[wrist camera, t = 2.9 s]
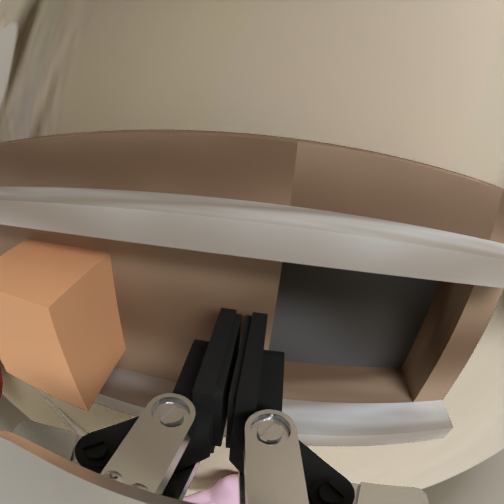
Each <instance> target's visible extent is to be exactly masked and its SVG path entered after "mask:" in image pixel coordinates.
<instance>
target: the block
mask: <svg viewBox="0 0 504 504" xmlns="http://www.w3.org/2000/svg"><path fill="white" fill-rule="evenodd" d="M125 350H126V348H125V343H124V338H123V333H122V328H121V323H120V317H119V312H118V306H117V300H116V294H115V287H114V280H113V273H112V265H111V256H110V253H109V252H103V251H96V250H90V249H84V248H78V247H71V246H65V245H59V244H53V243H47V242H41V241H35V240H29V239H26V240H25V241H23V242H21V243H20V244H18V245H17V246H15V247H13V248H12V249H10V250H9V251H7V252H5V253H4V254H2V255H1V256H0V359H1V361H2V363H3V365H4V367H5V369H6V371H7V372H8V373H9V374H11V375H13V376H15V377H17V378H18V379H20V380H22V381H24V382H26V383H28V384H30V385H31V386H33V387H35V388H37V389H39V390H41V391H43V392H45V393H48V394H50V395H52V396H54V397H56V398H58V399H60V400H63V401H65V402H67V403H69V404H72V405H74V406H77V407H79V408H81V409H84V410H86V411H89V409H90V407H91V405H92V404H93V402H94V400H95V399H96V397H97V395H98V394H99V392H100V390H101V389H102V387H103V385H104V384H105V382H106V381H107V379H108V377H109V376H110V374H111V372H112V371H113V369H114V368H115V366H116V364H117V363H118V361H119V360H120V358H121V356H122V355H123V353H124V352H125Z"/></svg>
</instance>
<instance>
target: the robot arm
mask: <svg viewBox="0 0 504 504" xmlns="http://www.w3.org/2000/svg"><path fill="white" fill-rule="evenodd" d="M267 318H268V314H265V313H257V312H253V314H252V316H250V315H246V319H245V324H244V328H243V333H242V338H241V342H240V332H241V320H242V314H237V310H235V309H228V308H221V309H220V312H219V315H218V318H217V321H216V324H215V327H214V330H213V332H212V335H211V338H210V341H203V340H197V339H195V340H194V341H193V343H192V346H191V348H190V351H189V353H188V356H187V358H186V361H185V363H184V366H183V368H182V370H181V373H180V375H179V378H178V380H177V383H176V385H175V388H174V390H173V393H165V394H161V395H158V396H156V397H155V398H153V399H152V400H151V401H150V402H149V403H148V405H147V406H146V407H145V409H144V410H143V412H142V413H141V415H140V416H138V417H136V418H133V419H130V420H127V421H125V422H122V423H119V424H116V425H113V426H110V427H107V428H104V429H101V430H98V431H95V432H92V433H89V434H86V435H84V436H83V435H79V434H78V433H77V432H75V431H70V430H65V429H61V428H56V427H52V426H48V425H44V424H40V423H36V422H33V421H25V422H21V423H20V424H19V425H18V426H17V427H16V428H15V430H14V432H13V433H10V432H7V431H3V430H0V504H195V503H191V502H186V501H182V500H183V498H184V496H185V494H186V492H187V490H188V487H189V485H190V483H191V481H192V479H193V477H194V475H195V473H196V471H197V469H198V466H199V463H200V461H202V460H204V459H206V458H208V457H210V453H213V452H214V448H215V446H221V444H222V439H223V435H224V430H225V425H226V421H227V431H226V447H227V448H230V456H229V460H230V461H231V463H232V464H233V465H234V466H235V467H236V468H237V469H238V470H239V471H238V484H239V504H429V502H428V497H427V495H426V494H425V492H424V491H422V490H421V489H419V488H414V487H401V486H390V485H380V484H372V483H364V482H361V483H360V484H355V483H350V482H349V481H348V480H347V479H346V478H345V477H344V476H342V475H341V474H340V473H338V472H337V471H336V470H335V469H333V468H332V467H331V466H330V465H328V464H327V463H326V462H325V461H323V460H322V459H321V458H320V457H319V456H317V455H316V454H315V453H314V452H313V451H311V450H310V449H309V448H308V447H307V446H306V445H304V444H303V443H302V442H301V441H300V440H299V439H298V434H297V428H296V425H295V423H294V421H293V420H292V419H291V417H289V416H288V415H286V414H285V413H283V412H282V402H283V382H284V358H285V353H284V352H280V351H271V350H264V343H265V335H266V326H267ZM239 343H240V347H239Z"/></svg>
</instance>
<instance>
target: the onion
mask: <svg viewBox="0 0 504 504" xmlns="http://www.w3.org/2000/svg"><path fill="white" fill-rule="evenodd" d="M2 386H3V381H2V373H1V368H0V396H1V394H2Z"/></svg>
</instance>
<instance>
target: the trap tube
mask: <svg viewBox="0 0 504 504" xmlns="http://www.w3.org/2000/svg"><path fill="white" fill-rule="evenodd" d="M26 239H29V240H35V241H41V242H47V243H53V244H59V245H65V246H71V247H78V248H84V249H90V250H96V251H103V252H109V253H110V256H111V265H112V273H113V280H114V287H115V294H116V300H117V306H118V312H119V317H120V323H121V328H122V333H123V338H124V343H125V348H126V350H125V352H124V353H123V355H122V356H121V358H120V360H119V361H118V363H117V364H116V366H115V368H114V369H113V371H112V372H111V374H110V376H109V377H108V379H107V381H106V382H105V384H104V385H103V387H102V389H101V390H100V392H99V394H98V395H97V397H96V399H95V400H94V402H95V403H98V404H100V405H103V406H106V407H109V408H112V409H115V410H118V411H121V412H124V413H127V414H130V415H133V416H137V417H138V416H140V415H141V413H142V412H143V410H144V409H145V407H146V406H147V405H148V403H149V402H150V401H151V400H152V399H153V398H155V397H156V396H158V395H161V394H165V393H173V390H174V388H175V385H176V383H177V380H178V378H179V375H180V373H181V370H182V368H183V366H184V363H185V361H186V358H187V356H188V353H189V351H190V348H191V346H192V343H193V341H194V340H195V339H197V340H203V341H210V338H211V335H212V332H213V330H214V327H215V324H216V321H217V318H218V315H219V312H220V309H221V308H228V309H235V310H237V314H242V320H241V332H240V342H241V338H242V333H243V328H244V324H245V319H246V315H250V316H252V314H253V312H257V313H265V314H268V318H267V326H266V335H265V343H264V350H271V351H280V352H284V353H285V358H284V382H283V402H282V412H283V413H285V414H286V415H288V416H289V417H291V419H292V420H293V421H294V423H295V425H296V428H297V434H298V439H299V440H300V441H301V442H302V443H303V444H304V445H306V446H373V445H389V444H401V443H411V442H419V441H427V440H434V439H441V438H444V437H445V436H446V435H447V434H448V433H449V431H450V430H451V429H452V428H453V426H452V423H451V420H450V418H449V415H448V412H447V410H446V407H445V405H444V402H443V399H444V397H445V396H446V394H447V393H448V391H449V390H450V388H451V387H452V385H453V384H454V382H455V381H456V379H457V378H458V376H459V375H460V373H461V371H462V370H463V368H464V366H465V365H466V363H467V361H468V360H469V358H470V356H471V355H472V353H473V351H474V349H475V347H476V346H477V344H478V342H479V340H480V338H481V336H482V334H483V333H484V331H485V329H486V327H487V325H488V323H489V321H490V319H491V316H492V314H493V312H494V310H495V308H496V306H497V304H498V301H499V299H500V297H501V294H502V292H503V290H504V189H502V188H500V187H498V186H495V185H493V184H490V183H487V182H484V181H481V180H478V179H475V178H472V177H469V176H465V175H462V174H459V173H456V172H452V171H449V170H445V169H442V168H438V167H435V166H431V165H427V164H424V163H420V162H416V161H412V160H408V159H403V158H399V157H395V156H390V155H386V154H381V153H377V152H372V151H367V150H362V149H356V148H351V147H345V146H340V145H334V144H328V143H321V142H315V141H308V140H300V139H293V138H285V137H276V136H267V135H256V134H245V133H232V132H216V131H195V130H119V131H98V132H83V133H71V134H60V135H51V136H43V137H35V138H27V139H20V140H14V141H8V142H2V143H0V256H1V255H2V254H4V253H5V252H7V251H9V250H10V249H12V248H13V247H15V246H17V245H18V244H20V243H21V242H23V241H25V240H26ZM239 347H240V343H239ZM226 431H227V421H226V425H225V430H224V435H223V437H226Z"/></svg>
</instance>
